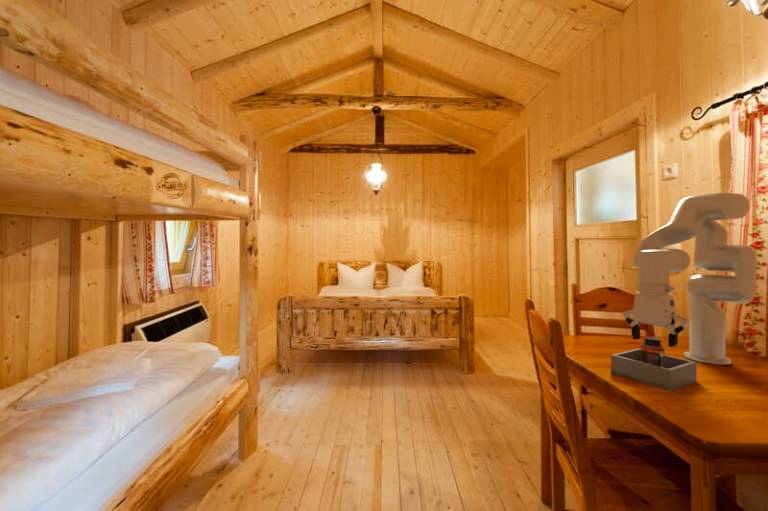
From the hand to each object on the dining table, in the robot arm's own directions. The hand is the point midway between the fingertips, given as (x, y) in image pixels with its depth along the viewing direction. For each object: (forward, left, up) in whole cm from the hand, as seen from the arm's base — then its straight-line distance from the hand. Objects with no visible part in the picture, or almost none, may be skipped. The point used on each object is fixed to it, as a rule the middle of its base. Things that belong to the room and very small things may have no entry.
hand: (653, 342), depth 105 cm
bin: (+1, 0, -11) cm, 11 cm away
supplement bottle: (0, 0, -10) cm, 10 cm away
